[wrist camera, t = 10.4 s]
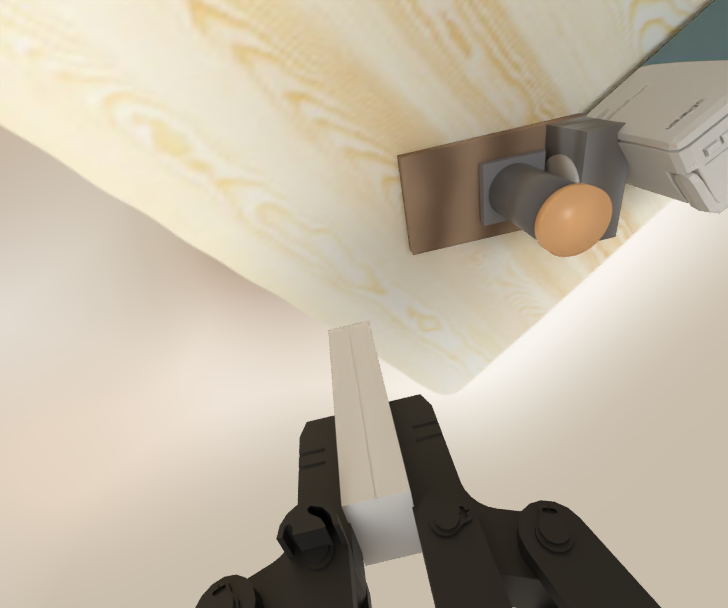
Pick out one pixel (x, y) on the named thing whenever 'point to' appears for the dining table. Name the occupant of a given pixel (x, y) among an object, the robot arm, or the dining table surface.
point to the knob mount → (461, 159)
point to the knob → (543, 203)
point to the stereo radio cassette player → (679, 115)
